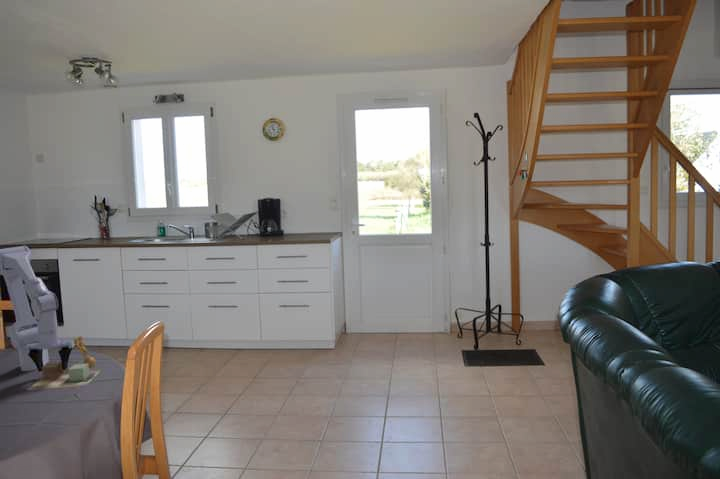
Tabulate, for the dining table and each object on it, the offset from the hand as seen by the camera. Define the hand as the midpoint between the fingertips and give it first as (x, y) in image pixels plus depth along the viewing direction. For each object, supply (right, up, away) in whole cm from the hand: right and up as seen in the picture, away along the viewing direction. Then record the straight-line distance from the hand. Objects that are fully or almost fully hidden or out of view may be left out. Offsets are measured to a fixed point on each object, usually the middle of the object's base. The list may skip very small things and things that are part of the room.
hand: (53, 369), depth 180 cm
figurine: (+7, -2, +9) cm, 12 cm away
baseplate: (+6, -4, -3) cm, 7 cm away
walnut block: (0, -2, 0) cm, 2 cm away
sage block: (+10, -2, -3) cm, 11 cm away
